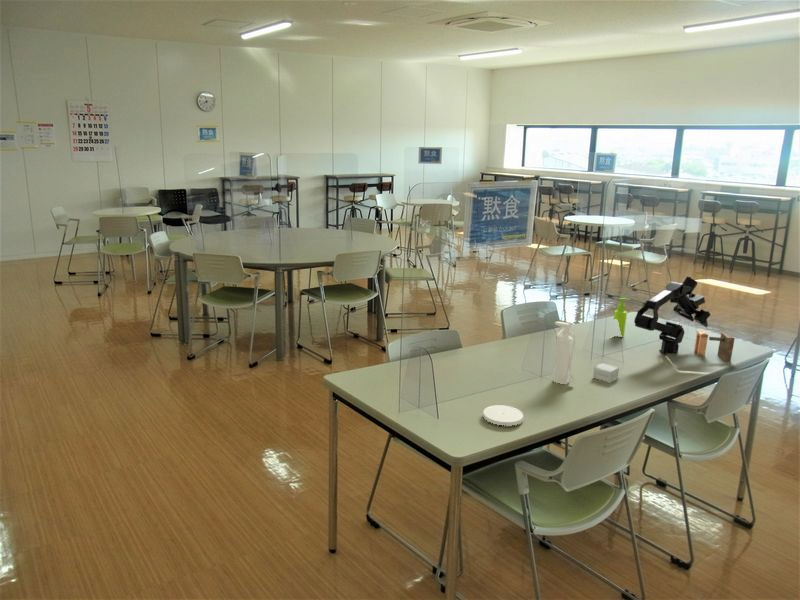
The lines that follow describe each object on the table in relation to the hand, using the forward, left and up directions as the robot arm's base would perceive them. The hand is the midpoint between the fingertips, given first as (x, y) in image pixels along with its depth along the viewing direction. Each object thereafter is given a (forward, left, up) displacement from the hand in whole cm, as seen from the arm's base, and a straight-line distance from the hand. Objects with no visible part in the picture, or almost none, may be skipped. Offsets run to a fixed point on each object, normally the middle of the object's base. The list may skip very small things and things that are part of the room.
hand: (699, 323), depth 295 cm
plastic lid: (-105, -80, -14) cm, 133 cm away
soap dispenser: (-30, +20, -14) cm, 39 cm away
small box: (-56, -39, -14) cm, 69 cm away
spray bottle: (-75, -44, -14) cm, 89 cm away
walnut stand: (+4, -12, -14) cm, 19 cm away
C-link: (-1, -7, -14) cm, 15 cm away
